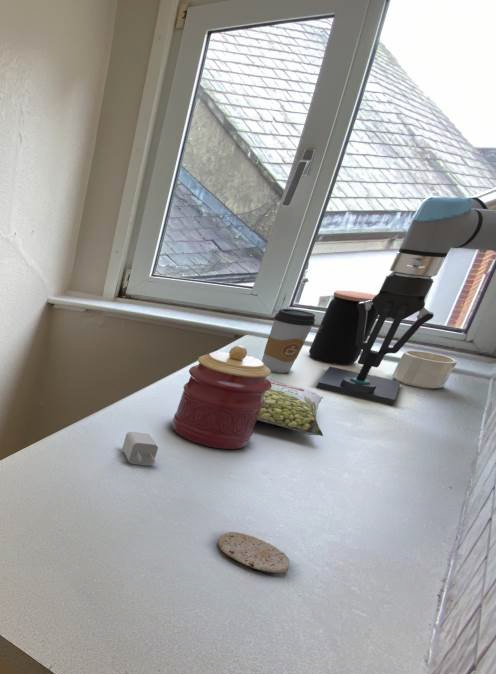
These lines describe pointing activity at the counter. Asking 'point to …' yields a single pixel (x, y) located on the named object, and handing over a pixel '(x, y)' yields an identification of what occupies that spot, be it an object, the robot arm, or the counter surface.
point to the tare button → (360, 381)
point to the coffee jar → (342, 329)
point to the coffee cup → (287, 339)
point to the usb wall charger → (140, 448)
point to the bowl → (424, 369)
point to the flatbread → (253, 552)
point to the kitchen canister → (222, 399)
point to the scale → (360, 385)
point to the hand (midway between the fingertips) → (361, 378)
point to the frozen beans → (291, 408)
